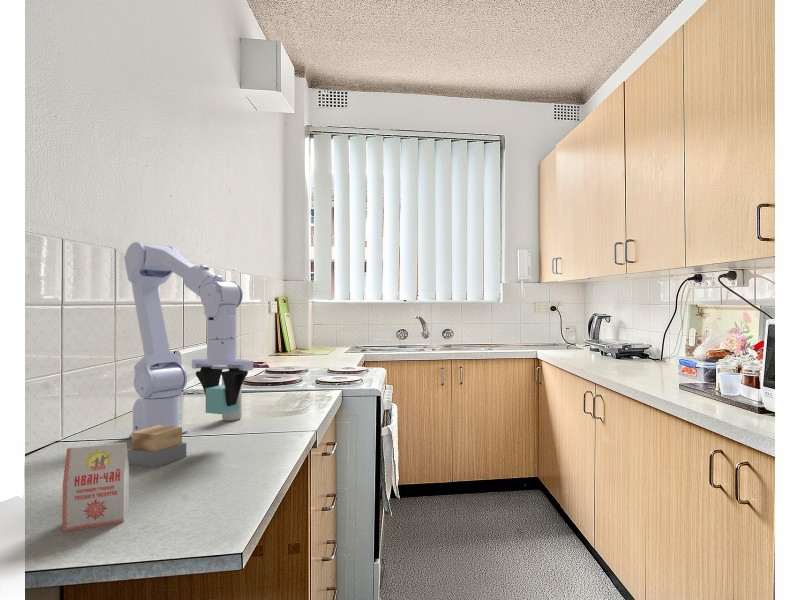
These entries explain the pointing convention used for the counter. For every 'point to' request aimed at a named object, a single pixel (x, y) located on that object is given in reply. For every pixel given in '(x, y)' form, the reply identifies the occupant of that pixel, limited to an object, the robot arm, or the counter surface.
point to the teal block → (218, 401)
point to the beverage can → (235, 414)
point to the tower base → (156, 456)
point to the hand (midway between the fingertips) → (221, 404)
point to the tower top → (156, 438)
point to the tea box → (95, 486)
